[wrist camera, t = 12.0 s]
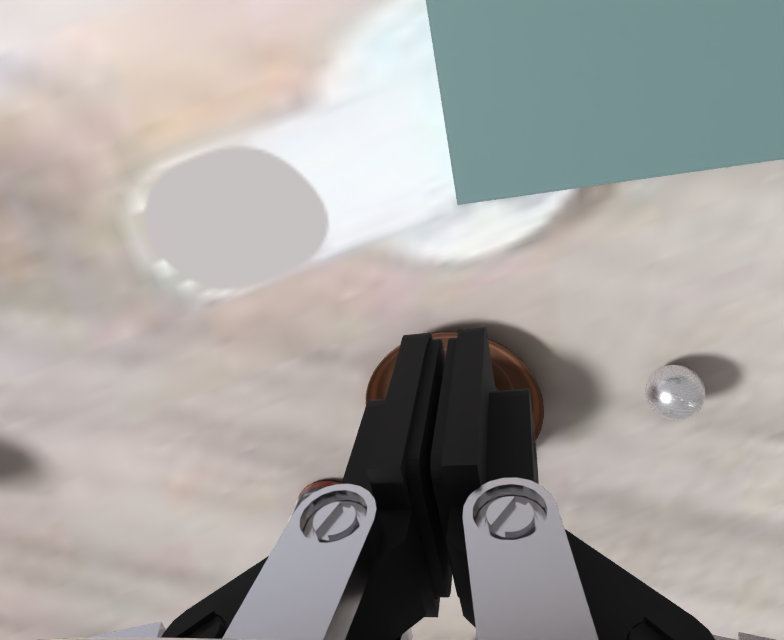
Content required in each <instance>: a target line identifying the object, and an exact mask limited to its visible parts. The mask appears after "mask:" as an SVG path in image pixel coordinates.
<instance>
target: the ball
mask: <svg viewBox="0 0 784 640" xmlns="http://www.w3.org/2000/svg"><path fill="white" fill-rule="evenodd" d="M646 398H647V401H648V403H649V405H650V406H651V408H652V409H653V410H654V411H655V412H656V413H658V414H659V415H661V416H663V417H665V418H668V419H673V420H681V419H686V418H689V417H691V416H693V415H694V414H696V413H697V412H698V411H699V410H700V408H701V407H702V405H703V403H704V400H705V387H704V384H703V382H702V380H701V378H700V377H699V376H698V375H697V374H696V373H695V372H694V371H693V370H691V369H689V368H687V367H685V366H681V365H667V366H664V367H661V368H659V369H658V370H656V371H655V372H654V373H653V374H652V375H651V376H650V378H649V379H648V381H647V384H646Z"/></svg>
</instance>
